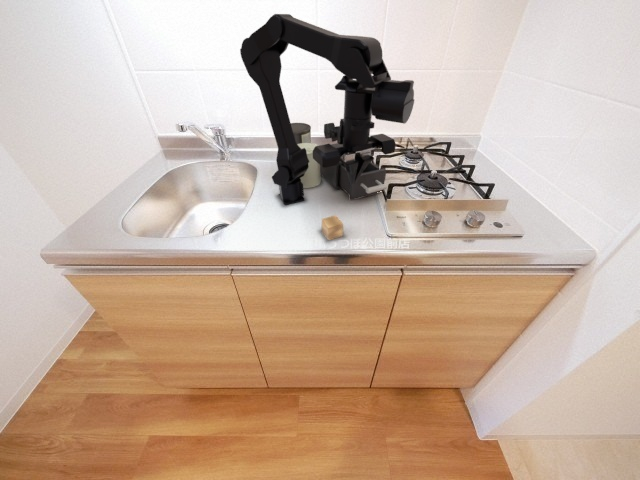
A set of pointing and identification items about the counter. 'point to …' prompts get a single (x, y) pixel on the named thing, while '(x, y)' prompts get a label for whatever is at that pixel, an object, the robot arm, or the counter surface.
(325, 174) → the dark grey drawer box
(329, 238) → the block
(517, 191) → the counter surface
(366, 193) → the dark grey drawer
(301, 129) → the coffee can
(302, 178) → the can
